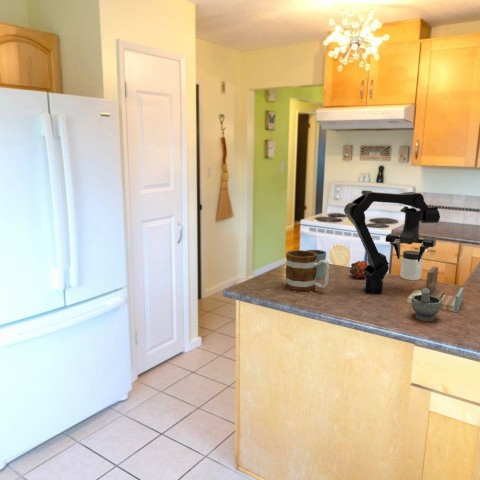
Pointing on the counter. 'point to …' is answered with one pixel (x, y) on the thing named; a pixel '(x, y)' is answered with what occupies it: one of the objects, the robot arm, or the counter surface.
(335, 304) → the counter surface
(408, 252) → the jar
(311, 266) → the mug
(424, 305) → the mortar and pestle
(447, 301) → the board
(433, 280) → the bookend block
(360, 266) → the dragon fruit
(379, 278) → the robot arm
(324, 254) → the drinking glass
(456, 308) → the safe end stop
